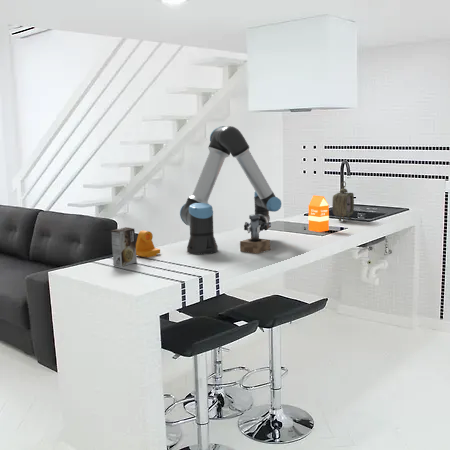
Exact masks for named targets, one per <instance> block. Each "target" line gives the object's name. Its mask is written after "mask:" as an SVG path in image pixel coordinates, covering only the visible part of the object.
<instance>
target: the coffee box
mask: <svg viewBox="0 0 450 450" xmlns="http://www.w3.org/2000/svg"><path fill="white" fill-rule="evenodd" d="M110 234H111V248H112V249H111V250H112V262H113V263H112V264H113V266H118V267H124V266H128V265H132V264H135V263H138V262H137V260H138V259H137V258H138V257H137V255H136V235H135V234H136V233H135V228H134V227H133V228H132V227H121V228H116V229H111V230H110Z"/></svg>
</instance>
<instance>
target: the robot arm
mask: <svg viewBox="0 0 450 450" xmlns="http://www.w3.org/2000/svg"><path fill="white" fill-rule="evenodd" d="M209 141H210V142H209V144H208V147H207V148H208V151H209V152H208V155H207V158H206V160H205V162H204V165H203V167H202V170H201V173H200V176H198V180H197V182H196V185H195V187H194V190H193V192H192V195H190V196H187V199H186V201H185V203H184V204H183V205H182V206H181V207H180V211H179V218H180V219H181V222H183V223H184V224H185V225H186V226H189V239H188V243H187V246H186V252H187V254H193V255H209V254H214V253H217V252H218V251H219V250H218V249H219V248H218V245H217V244H218V243H217V241H216V238H215V235H214V210H213V206H212V204H210V203H209V199H210V197H211V194H212V192H213V189H214V188H215V187H214V186H215V185H216V181H217V180H218V177H219V174H220V172H221V169H222V167H223V164H224V162H225V159H226V158H228V157H230V156H232V157H233V158H235V159H236V161H237V162H238V164H239V166H240V168H241V169H242V171H243V172H244V174H245V177H246V178H247V179H248V181H249V183H250V185H251V186H252V188H253V189H254V197H253V199H254V215H260V219H259V226H258V227H257V233H259V234H260V232H262V231H267V230H269V228H271V226H272V224H271V218H270V212H273V213H274V212H278V211H279V210H280V209H281V207H282V200H281V199H280V198H278V197H277V196H276V194H275V193H274V191H273V190H272V188H271V186H270V185H269V183H268V181H267V179H266V177H265V176H264V174H263V172H262V170H261V169H260V167H259V166H258V164H257V162H256V160H255V158H254V157H253V155H252V153H251V151H250V145H249V143H248V141H247V140H246V138H245V137H244V135H243V133H242V132H241V131H240V130H239V129H238V128H237V127H235V126H232V125H231V126H229V125H228V126H225V125H223V126H218V127H216V128H214V129H213V131H212V132H211V134H210V135H209ZM230 154H231V155H230ZM243 230H244V231H247V234H251V221H249V222H248V221H245V222H244V225H243Z"/></svg>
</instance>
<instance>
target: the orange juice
mask: <svg viewBox="0 0 450 450" xmlns="http://www.w3.org/2000/svg"><path fill="white" fill-rule="evenodd" d="M329 209H330V208H329V203H328V202H327V200H326V198H325V196H324V195H316V194H315V195H312V196H311V200H310V202H309V204H308V216H307V217H308V231H311V232H317V233H322V232H327V231H330V227H329V225H330V222H329V220H330V211H329Z"/></svg>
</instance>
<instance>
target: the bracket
mask: <svg viewBox="0 0 450 450" xmlns="http://www.w3.org/2000/svg"><path fill="white" fill-rule="evenodd" d="M153 238H154V237H153V233H152V232H151V231H149V230H143V229H141V230H140V231H139V232H138V234H137V238H136V240H135V244H136V256H138V257H142V258H143V257H144V258H151V257H155V256H158V254H161V248H158V247H157V248H156V247H155V244H154V242H153Z"/></svg>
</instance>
